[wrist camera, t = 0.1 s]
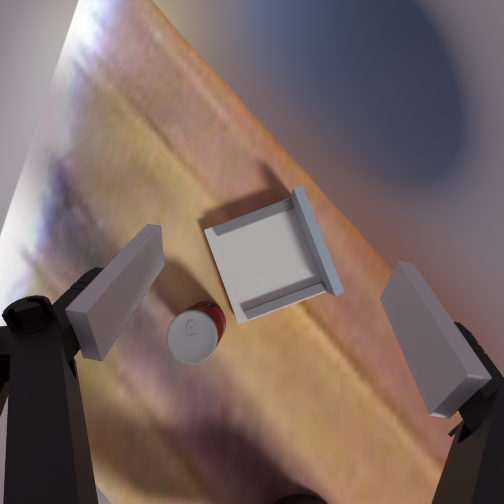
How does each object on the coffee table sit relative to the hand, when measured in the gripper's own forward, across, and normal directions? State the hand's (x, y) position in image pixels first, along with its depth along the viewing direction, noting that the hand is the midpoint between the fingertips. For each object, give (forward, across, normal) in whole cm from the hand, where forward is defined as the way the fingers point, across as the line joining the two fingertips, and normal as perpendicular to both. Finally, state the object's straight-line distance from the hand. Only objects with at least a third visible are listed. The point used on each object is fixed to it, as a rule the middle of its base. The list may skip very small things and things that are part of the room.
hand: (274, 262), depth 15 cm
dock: (+30, -1, +20) cm, 36 cm away
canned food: (+22, +9, +31) cm, 39 cm away
